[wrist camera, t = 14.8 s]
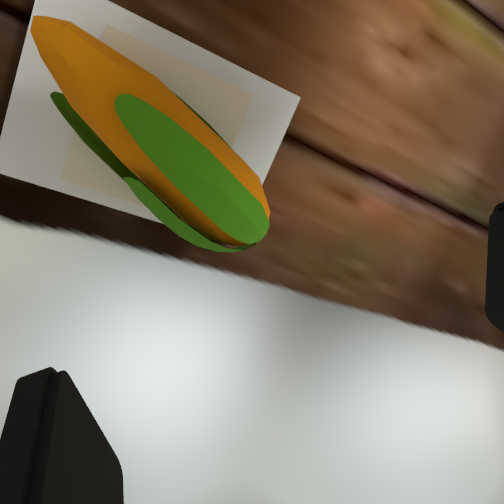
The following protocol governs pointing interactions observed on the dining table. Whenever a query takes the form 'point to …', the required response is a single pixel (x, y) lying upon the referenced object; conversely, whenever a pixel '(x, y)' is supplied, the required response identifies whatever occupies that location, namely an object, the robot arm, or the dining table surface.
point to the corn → (153, 140)
